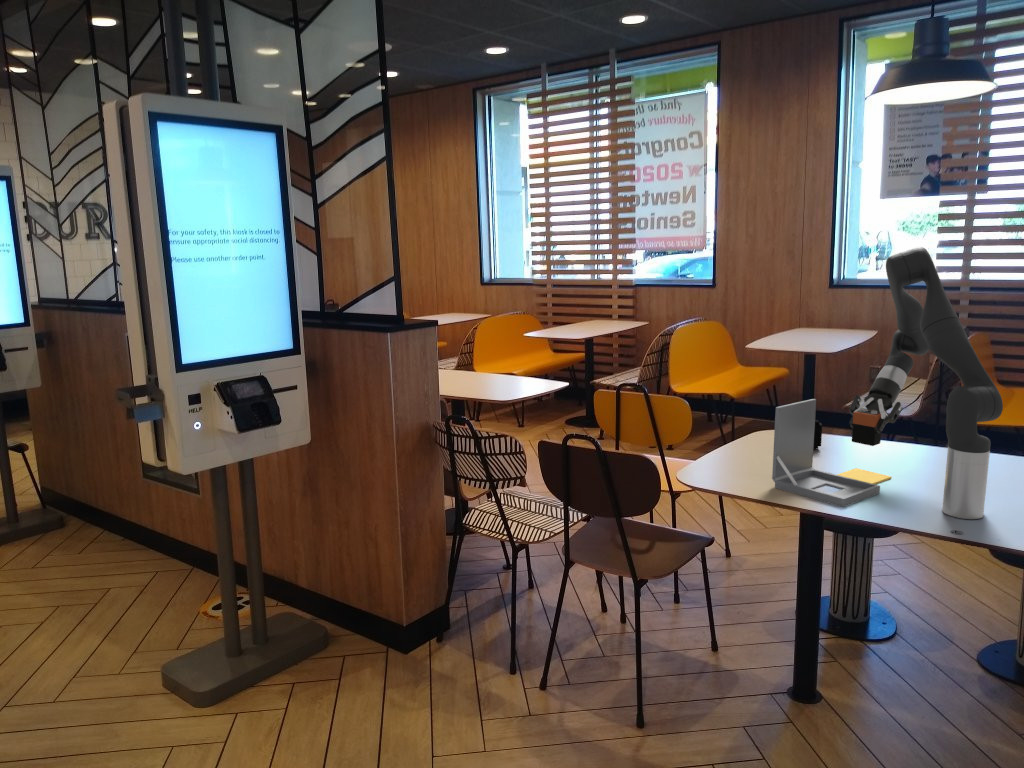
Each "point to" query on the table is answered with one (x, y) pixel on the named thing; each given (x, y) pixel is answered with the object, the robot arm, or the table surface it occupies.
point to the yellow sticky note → (865, 476)
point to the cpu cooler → (817, 434)
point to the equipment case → (808, 459)
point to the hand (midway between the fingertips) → (864, 429)
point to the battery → (865, 427)
